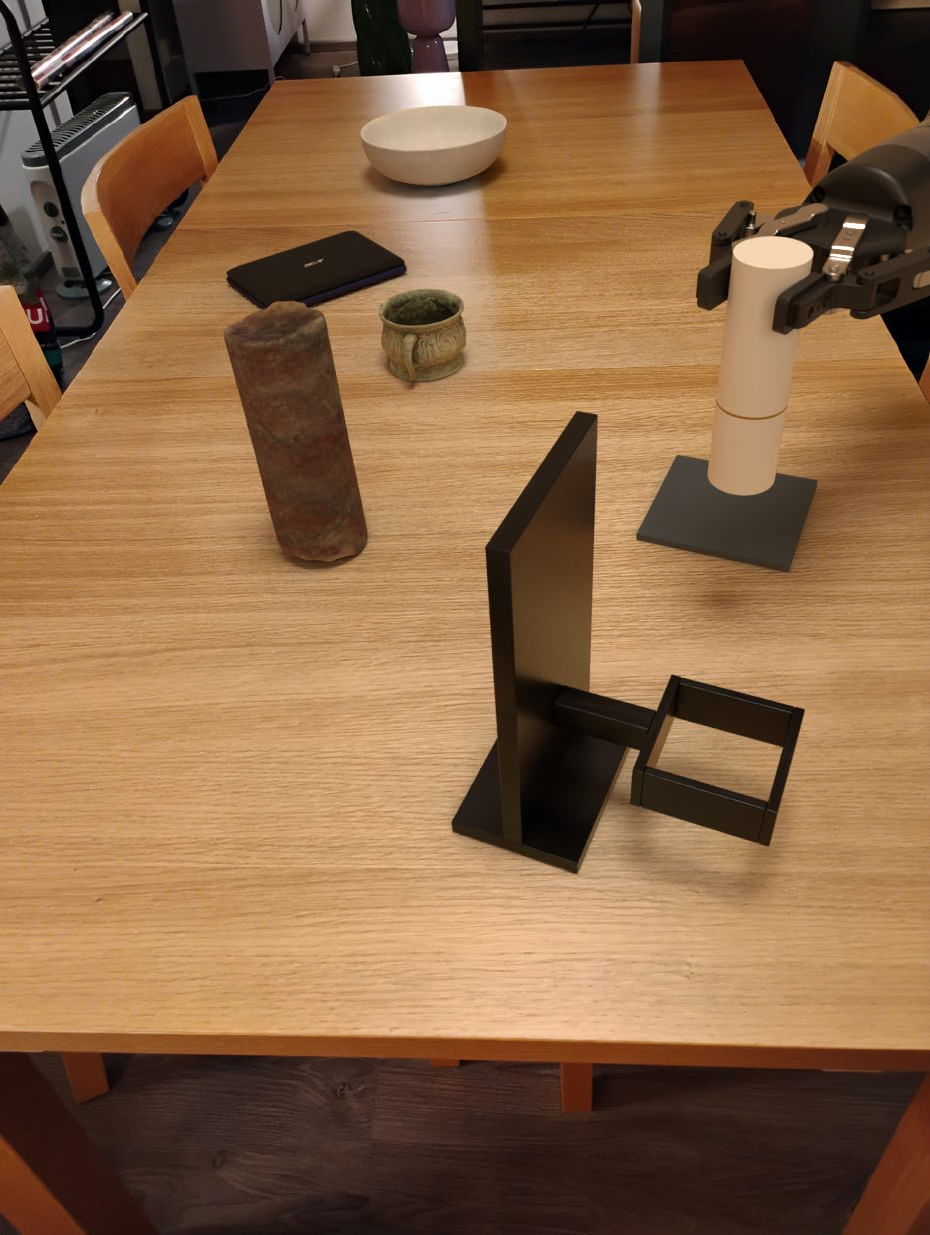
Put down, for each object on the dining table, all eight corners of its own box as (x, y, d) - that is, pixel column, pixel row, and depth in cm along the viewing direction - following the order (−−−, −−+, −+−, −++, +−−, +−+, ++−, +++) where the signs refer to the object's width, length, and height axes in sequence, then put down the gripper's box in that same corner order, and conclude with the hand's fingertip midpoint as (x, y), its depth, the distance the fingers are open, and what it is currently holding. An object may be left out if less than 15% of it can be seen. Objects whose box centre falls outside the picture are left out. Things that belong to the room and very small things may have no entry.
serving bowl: (538, 166, 145) (537, 115, 140) (441, 213, 134) (437, 159, 129) (433, 143, 156) (429, 95, 151) (336, 184, 145) (328, 134, 140)
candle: (292, 582, 79) (236, 351, 65) (265, 533, 84) (208, 308, 70) (381, 552, 81) (345, 322, 67) (350, 505, 86) (311, 282, 72)
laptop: (419, 282, 118) (417, 265, 117) (258, 325, 113) (254, 308, 111) (369, 238, 129) (367, 223, 128) (220, 275, 123) (216, 260, 122)
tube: (769, 499, 63) (808, 271, 53) (702, 489, 64) (727, 265, 54) (778, 462, 66) (817, 239, 56) (713, 453, 67) (739, 234, 57)
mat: (816, 485, 84) (817, 479, 83) (788, 572, 76) (789, 566, 75) (676, 460, 88) (677, 454, 87) (636, 539, 80) (636, 533, 79)
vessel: (454, 395, 98) (449, 336, 94) (369, 390, 100) (360, 332, 96) (479, 338, 107) (476, 282, 103) (401, 334, 109) (394, 279, 104)
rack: (790, 770, 62) (868, 460, 46) (747, 932, 54) (823, 624, 39) (525, 695, 68) (515, 399, 53) (452, 831, 60) (415, 530, 45)
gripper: (799, 124, 65) (639, 209, 56) (1023, 165, 57) (876, 272, 49) (782, 238, 70) (633, 331, 61) (985, 290, 62) (846, 406, 54)
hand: (741, 304), depth 55 cm, fingers closed on tube, 4 cm apart
